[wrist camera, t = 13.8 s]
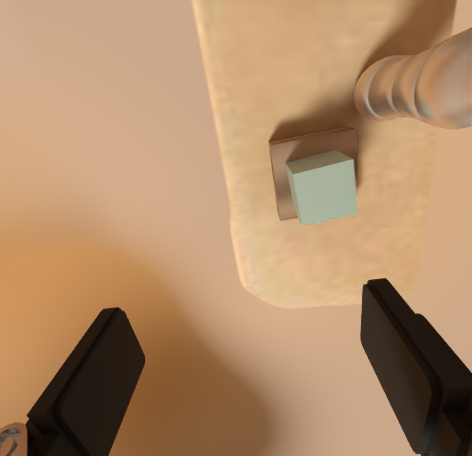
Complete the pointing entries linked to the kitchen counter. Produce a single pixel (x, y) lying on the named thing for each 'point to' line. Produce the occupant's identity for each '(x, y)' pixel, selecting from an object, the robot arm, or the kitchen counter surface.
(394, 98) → the plastic bottle
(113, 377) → the robot arm
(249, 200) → the kitchen counter surface
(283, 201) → the walnut block
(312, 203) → the sage cube
